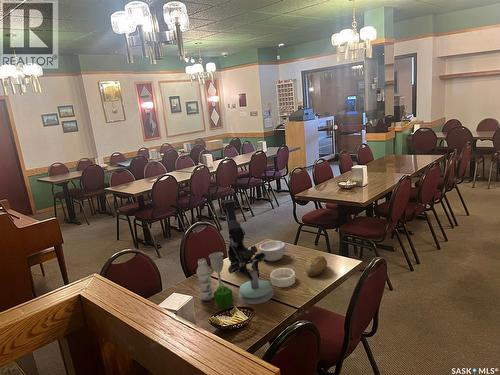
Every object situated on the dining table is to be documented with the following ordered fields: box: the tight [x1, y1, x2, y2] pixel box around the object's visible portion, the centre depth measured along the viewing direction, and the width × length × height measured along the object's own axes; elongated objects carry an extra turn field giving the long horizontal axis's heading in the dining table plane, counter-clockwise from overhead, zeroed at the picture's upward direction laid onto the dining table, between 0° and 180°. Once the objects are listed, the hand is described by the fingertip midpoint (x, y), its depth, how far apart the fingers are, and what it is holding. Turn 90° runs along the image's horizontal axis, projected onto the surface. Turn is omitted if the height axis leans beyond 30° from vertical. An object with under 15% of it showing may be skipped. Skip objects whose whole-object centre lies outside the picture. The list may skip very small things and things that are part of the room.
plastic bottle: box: [196, 258, 215, 302], centre depth 167 cm, size 6×7×20 cm
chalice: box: [208, 251, 226, 290], centre depth 176 cm, size 7×7×18 cm
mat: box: [237, 287, 275, 305], centre depth 168 cm, size 17×17×1 cm
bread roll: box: [304, 255, 328, 277], centre depth 183 cm, size 10×15×8 cm, turn 143°
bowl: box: [269, 267, 296, 288], centre depth 176 cm, size 12×12×4 cm
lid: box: [238, 269, 272, 298], centre depth 166 cm, size 15×15×9 cm
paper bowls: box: [258, 240, 287, 262], centre depth 205 cm, size 15×15×8 cm
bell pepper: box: [213, 282, 234, 309], centre depth 160 cm, size 8×8×10 cm
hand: (255, 278), depth 164 cm, fingers closed on lid, 4 cm apart
